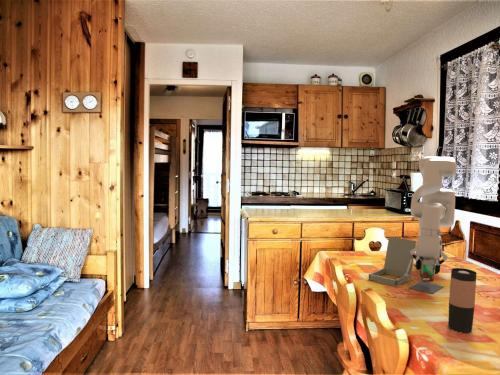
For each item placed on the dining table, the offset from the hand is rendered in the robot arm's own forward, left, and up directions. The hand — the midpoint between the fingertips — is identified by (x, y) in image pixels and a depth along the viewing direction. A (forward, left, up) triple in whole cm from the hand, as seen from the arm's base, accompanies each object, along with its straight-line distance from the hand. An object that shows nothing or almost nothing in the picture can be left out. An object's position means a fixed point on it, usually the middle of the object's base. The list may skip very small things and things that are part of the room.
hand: (427, 271), depth 176 cm
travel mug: (+37, +24, -8) cm, 45 cm away
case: (-2, -17, -8) cm, 19 cm away
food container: (0, +1, -4) cm, 4 cm away
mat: (0, 0, -8) cm, 8 cm away
